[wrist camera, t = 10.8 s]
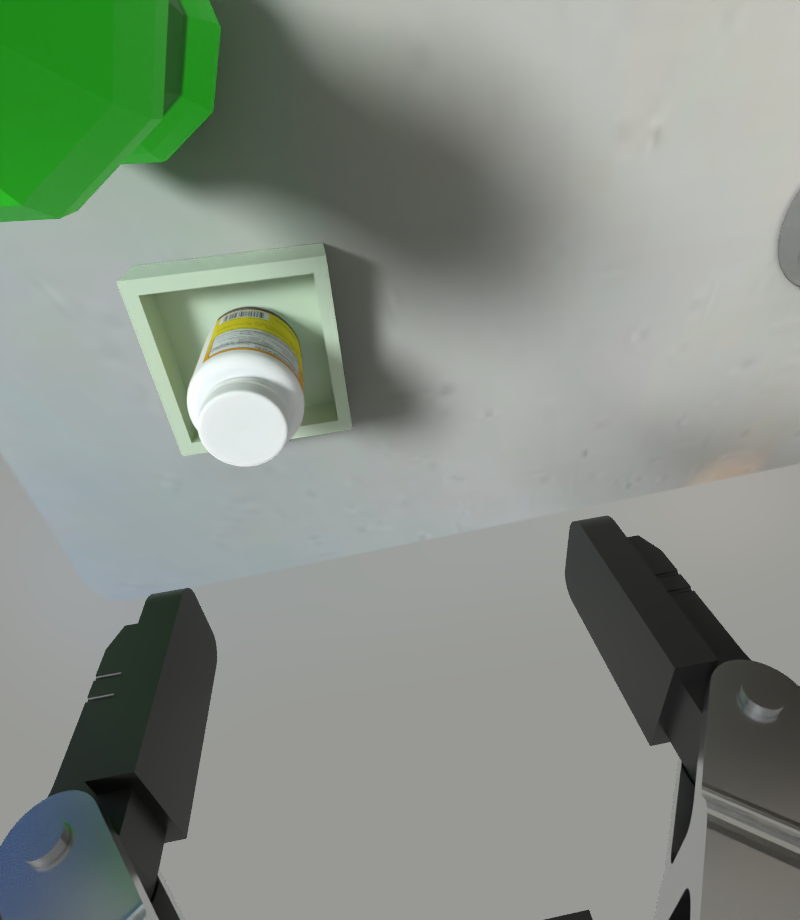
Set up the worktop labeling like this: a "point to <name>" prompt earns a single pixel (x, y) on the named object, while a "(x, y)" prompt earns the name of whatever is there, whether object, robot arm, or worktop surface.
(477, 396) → the worktop surface
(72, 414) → the worktop surface
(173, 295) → the tray
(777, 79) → the worktop surface
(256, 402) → the supplement bottle
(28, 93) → the plastic bottle
